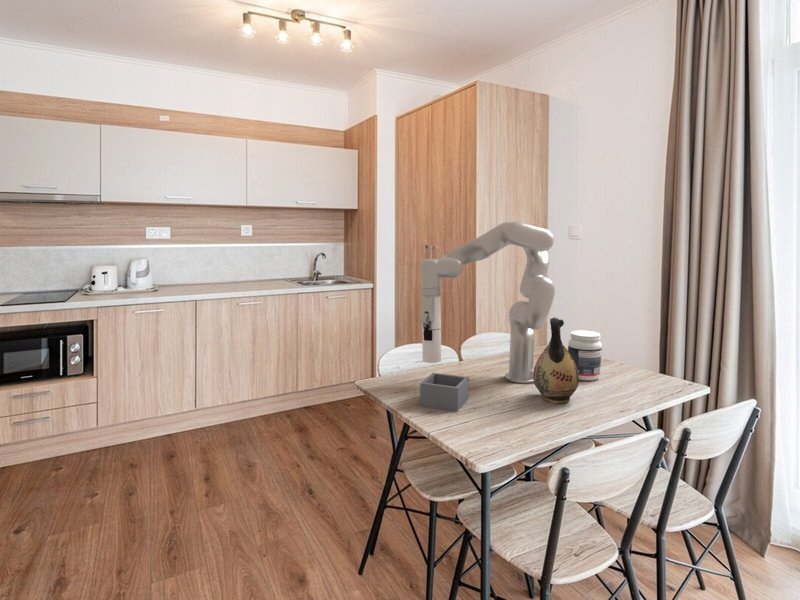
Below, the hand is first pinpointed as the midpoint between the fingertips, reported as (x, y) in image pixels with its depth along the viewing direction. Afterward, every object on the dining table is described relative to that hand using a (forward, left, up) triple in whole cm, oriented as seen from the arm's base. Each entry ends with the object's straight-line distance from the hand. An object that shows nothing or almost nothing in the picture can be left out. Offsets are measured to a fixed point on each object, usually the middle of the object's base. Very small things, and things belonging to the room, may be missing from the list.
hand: (431, 337), depth 186 cm
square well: (-10, +15, -19) cm, 27 cm away
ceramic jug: (-45, -3, -19) cm, 49 cm away
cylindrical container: (0, 0, -9) cm, 9 cm away
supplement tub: (-53, -36, -19) cm, 67 cm away
